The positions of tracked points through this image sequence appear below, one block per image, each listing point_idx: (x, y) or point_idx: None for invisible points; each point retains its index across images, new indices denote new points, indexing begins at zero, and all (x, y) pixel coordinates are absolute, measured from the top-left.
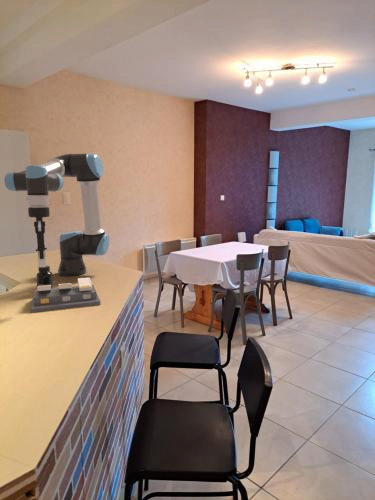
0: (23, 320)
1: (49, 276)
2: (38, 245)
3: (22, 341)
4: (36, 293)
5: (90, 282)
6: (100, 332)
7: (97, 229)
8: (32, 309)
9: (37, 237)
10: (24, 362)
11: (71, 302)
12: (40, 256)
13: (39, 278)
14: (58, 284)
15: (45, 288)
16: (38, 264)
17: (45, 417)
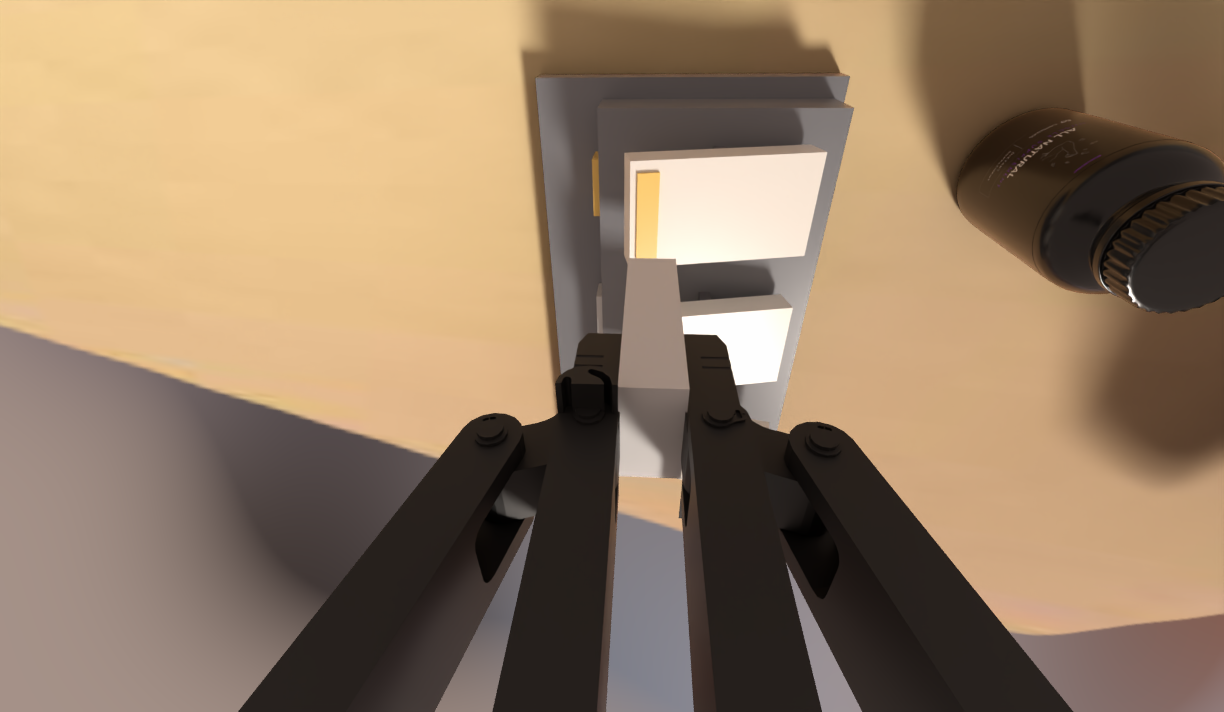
0: (392, 26)
1: (1034, 262)
2: (424, 498)
3: (67, 46)
4: (731, 128)
5: (681, 477)
6: (227, 378)
7: None
8: (536, 88)
9: (263, 696)
10: None
11: (590, 323)
12: (575, 364)
13: (1072, 167)
14: (731, 313)
15: (626, 222)
16: (627, 273)
17: None
